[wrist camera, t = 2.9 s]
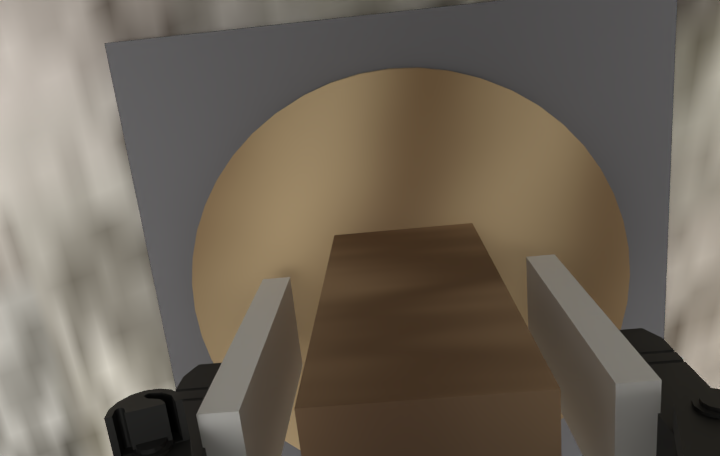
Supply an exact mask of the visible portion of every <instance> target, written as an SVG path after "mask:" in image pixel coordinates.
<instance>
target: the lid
mask: <svg viewBox="0 0 720 456" xmlns="http://www.w3.org/2000/svg"><path fill="white" fill-rule="evenodd" d="M552 254H555V255H556V257H557V258H558V259H559V260H560V261H561V262H562V264H563V265H564V266H565V267H566V268H567V270H568V271H569V272H570V273H571V274H572V275H573V277H574V278H575V279H576V280H577V281H578V282H579V284H580V285H581V286H582V287H583V288H584V289H585V291H586V292H587V293H588V294H589V295H590V297H591V298H592V299H593V300H594V301H595V302H596V304H597V305H598V306H599V307H600V308H601V309H602V311H603V312H604V313H605V314H606V315H607V317H608V318H609V319H610V320H611V321H612V322H613V324H614V325H615V326H616V327H617V328H618V329H619V330H621V327H622V322H623V318H624V314H625V310H626V306H627V301H628V290H629V280H630V265H629V247H628V242H627V237H626V232H625V226H624V221H623V218H622V215H621V212H620V210H619V207H618V204H617V201H616V198H615V195H614V193H613V191H612V189H611V187H610V185H609V183H608V182H607V180H606V178H605V176H604V174H603V172H602V170H601V168H600V167H599V166H598V164H597V163H596V162H595V160H594V159H593V157H592V156H591V155H590V153H589V152H588V151H587V149H586V148H585V146H584V145H583V144H582V143H581V142H580V141H579V140H578V139H577V138H576V137H575V136H574V135H573V134H572V133H571V132H570V131H569V130H568V129H567V128H566V127H565V126H564V125H563V124H562V123H561V122H560V121H558V120H557V119H556V118H554V117H553V116H552V115H551V114H549V113H548V112H547V111H545V110H544V109H543V108H541V107H540V106H539V105H537V104H535V103H533V102H532V101H530V100H528V99H526V98H525V97H523V96H521V95H519V94H517V93H516V92H514V91H512V90H510V89H507V88H505V87H502V86H499V85H497V84H494V83H492V82H489V81H487V80H484V79H481V78H478V77H474V76H470V75H466V74H462V73H457V72H453V71H449V70H440V69H430V68H420V67H415V68H388V69H382V70H377V71H371V72H365V73H359V74H356V75H353V76H350V77H346V78H343V79H340V80H337V81H334V82H331V83H329V84H326V85H324V86H322V87H320V88H318V89H316V90H314V91H312V92H309V93H307V94H305V95H303V96H302V97H300V98H299V99H297V100H296V101H294V102H293V103H291V104H290V105H288V106H286V107H285V108H283V109H282V110H280V111H279V112H277V113H276V114H274V115H273V116H272V117H271V118H270V119H269V120H267V121H266V122H265V123H264V124H263V125H262V126H260V127H259V128H258V129H257V130H256V131H255V132H254V133H252V134H251V136H250V137H249V138H248V139H247V140H246V141H245V142H244V144H243V145H242V146H241V147H240V148H239V149H238V150H237V151H236V153H235V154H234V155H233V156H232V158H231V159H230V161H229V162H228V164H227V165H226V167H225V168H224V170H223V171H222V173H221V174H220V176H219V177H218V179H217V181H216V183H215V185H214V187H213V189H212V191H211V193H210V196H209V198H208V200H207V202H206V204H205V207H204V210H203V213H202V216H201V220H200V223H199V226H198V229H197V234H196V240H195V246H194V252H193V262H192V288H193V297H194V305H195V312H196V316H197V320H198V323H199V327H200V331H201V335H202V338H203V340H204V343H205V345H206V347H207V350H208V352H209V355H210V357H211V360H212V361H213V363H222V361H223V359H224V357H225V355H226V353H227V351H228V349H229V347H230V345H231V343H232V341H233V339H234V337H235V335H236V333H237V331H238V329H239V327H240V325H241V323H242V321H243V319H244V317H245V315H246V313H247V311H248V309H249V307H250V305H251V303H252V301H253V299H254V297H255V294H256V292H257V290H258V288H259V286H260V284H261V282H262V280H263V279H272V278H283V277H290V280H291V287H292V294H293V301H294V308H295V315H296V322H297V329H298V336H299V344H300V351H301V358H302V365H303V366H302V370H301V374H300V378H299V382H298V387H297V391H296V395H295V399H294V404H293V408H292V412H291V416H290V420H289V425H288V429H287V433H286V437H285V441H286V442H288V443H289V444H291V445H292V446H294V447H296V448H297V449H299V450H300V451H301V456H562V455H561V419H562V418H564V417H563V415H562V413H561V389H560V387H559V385H558V383H557V381H556V379H555V377H554V376H553V374H552V372H551V370H550V368H549V366H548V364H547V362H546V361H545V359H544V357H543V355H542V353H541V351H540V349H539V347H538V346H537V344H536V342H535V340H534V338H533V336H532V334H531V332H530V331H529V329H528V304H527V268H526V257H529V256H540V255H552Z"/></svg>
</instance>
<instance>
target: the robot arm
mask: <svg viewBox="0 0 720 456" xmlns="http://www.w3.org/2000/svg"><path fill="white" fill-rule="evenodd" d="M526 268H527V304H528V329H529V331H530V332H531V334H532V336H533V338H534V340H535V342H536V344H537V346H538V347H539V349H540V351H541V353H542V355H543V357H544V359H545V361H546V362H547V364H548V366H549V368H550V370H551V372H552V374H553V376H554V377H555V379H556V381H557V383H558V385H559V387H560V389H561V413H562V415H563V417H564V419H565V421H566V423H567V425H568V427H569V429H570V431H571V433H572V435H573V437H574V439H575V441H576V443H577V445H578V447H579V449H580V451H581V453H582V455H583V456H720V389H714V388H710V386H709V385H708V384H707V383H706V382H705V381H704V380H703V379H702V378H701V377H700V376H699V375H698V374H697V373H696V372H695V371H694V370H693V369H692V368H691V367H690V366H689V365H688V364H687V363H686V362H683V359H682V358H681V357H680V356H679V355H678V354H677V353H676V352H674V350H673V349H672V348H671V347H670V346H669V344H668V343H667V342H666V341H665V340H664V339H663V338H661V337H659V336H657V335H655V334H653V333H651V332H649V331H647V330H645V329H643V328H636V329H624V330H619V329H618V328H617V327H616V326H615V325H614V324H613V322H612V321H611V320H610V319H609V318H608V317H607V315H606V314H605V313H604V312H603V311H602V309H601V308H600V307H599V306H598V305H597V304H596V302H595V301H594V300H593V299H592V298H591V297H590V295H589V294H588V293H587V292H586V291H585V289H584V288H583V287H582V286H581V285H580V284H579V282H578V281H577V280H576V279H575V278H574V277H573V275H572V274H571V273H570V272H569V271H568V270H567V268H566V267H565V266H564V265H563V264H562V262H561V261H560V260H559V259H558V258H557V257H556V255H555V254H552V255H540V256H529V257H526ZM302 366H303V365H302V358H301V351H300V344H299V336H298V329H297V322H296V315H295V308H294V301H293V294H292V287H291V280H290V277H283V278H272V279H263V280H262V282H261V284H260V286H259V288H258V290H257V292H256V294H255V297H254V299H253V301H252V303H251V305H250V307H249V309H248V311H247V313H246V315H245V317H244V319H243V321H242V323H241V325H240V327H239V329H238V331H237V333H236V335H235V337H234V339H233V341H232V343H231V345H230V347H229V349H228V351H227V353H226V355H225V357H224V359H223V361H222V363H211V364H199V365H198V366H196V367H195V368H194V369H192V370H191V371H190V372H189V373H187V374H186V375H185V376H183V378H182V380H181V382H180V383H179V385H178V387H177V388H176V392H175V391H173V390H169V389H154V390H147V391H143V392H139V393H136V394H133V395H130V396H128V397H127V398H125V399H123V400H121V401H119V402H117V403H116V404H115V405H114V406H113V407H112V408H110V409H109V410H108V412H107V414H106V416H105V418H104V419H105V423H106V427H107V431H108V435H109V439H110V443H111V447H112V451H113V455H114V456H281V454H282V450H283V446H284V442H285V437H286V433H287V429H288V425H289V420H290V416H291V412H292V408H293V404H294V399H295V395H296V391H297V387H298V382H299V378H300V374H301V370H302Z"/></svg>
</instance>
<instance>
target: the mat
mask: <svg viewBox="0 0 720 456" xmlns="http://www.w3.org/2000/svg"><path fill="white" fill-rule="evenodd" d="M676 17H677V0H500V1H491V2H481V3H472V4H463V5H454V6H445V7H435V8H426V9H417V10H408V11H398V12H389V13H380V14H371V15H361V16H352V17H343V18H334V19H325V20H315V21H306V22H297V23H288V24H278V25H269V26H260V27H251V28H242V29H232V30H223V31H214V32H205V33H195V34H186V35H177V36H168V37H159V38H149V39H140V40H131V41H122V42H112V43H105V48H106V53H107V58H108V62H109V67H110V72H111V77H112V82H113V87H114V91H115V96H116V101H117V106H118V111H119V115H120V120H121V125H122V130H123V135H124V140H125V144H126V149H127V154H128V159H129V164H130V169H131V173H132V178H133V183H134V188H135V193H136V197H137V202H138V207H139V212H140V217H141V222H142V226H143V231H144V236H145V241H146V246H147V251H148V255H149V260H150V265H151V270H152V275H153V279H154V284H155V289H156V294H157V299H158V304H159V308H160V313H161V318H162V323H163V328H164V333H165V337H166V342H167V347H168V352H169V357H170V361H171V366H172V371H173V376H174V381H175V386H176V388H177V387H178V385H179V383H180V382H181V380H182V378H183V376H185V375H186V374H187V373H189V372H190V371H191V370H192V369H194V368H195V367H196V366H198V365H199V364H211V363H213V361H212V360H211V357H210V355H209V352H208V350H207V347H206V345H205V343H204V340H203V338H202V335H201V331H200V327H199V323H198V320H197V316H196V312H195V305H194V297H193V288H192V262H193V252H194V246H195V240H196V234H197V229H198V226H199V223H200V220H201V216H202V213H203V210H204V207H205V204H206V202H207V200H208V198H209V196H210V193H211V191H212V189H213V187H214V185H215V183H216V181H217V179H218V177H219V176H220V174H221V173H222V171H223V170H224V168H225V167H226V165H227V164H228V162H229V161H230V159H231V158H232V156H233V155H234V154H235V153H236V151H237V150H238V149H239V148H240V147H241V146H242V145H243V144H244V142H245V141H246V140H247V139H248V138H249V137H250V136H251V134H252V133H254V132H255V131H256V130H257V129H258V128H259V127H260V126H262V125H263V124H264V123H265V122H266V121H267V120H269V119H270V118H271V117H272V116H273V115H274V114H276V113H277V112H279V111H280V110H282V109H283V108H285V107H286V106H288V105H290V104H291V103H293V102H294V101H296V100H297V99H299V98H300V97H302V96H303V95H305V94H307V93H309V92H312V91H314V90H316V89H318V88H320V87H322V86H324V85H326V84H329V83H331V82H334V81H337V80H340V79H343V78H346V77H350V76H353V75H356V74H359V73H365V72H371V71H377V70H382V69H388V68H415V67H420V68H430V69H440V70H449V71H453V72H457V73H462V74H466V75H470V76H474V77H478V78H481V79H484V80H487V81H489V82H492V83H494V84H497V85H499V86H502V87H505V88H507V89H510V90H512V91H514V92H516V93H517V94H519V95H521V96H523V97H525V98H526V99H528V100H530V101H532V102H533V103H535V104H537V105H539V106H540V107H541V108H543V109H544V110H545V111H547V112H548V113H549V114H551V115H552V116H553V117H554V118H556V119H557V120H558V121H560V122H561V123H562V124H563V125H564V126H565V127H566V128H567V129H568V130H569V131H570V132H571V133H572V134H573V135H574V136H575V137H576V138H577V139H578V140H579V141H580V142H581V143H582V144H583V145H584V146H585V148H586V149H587V151H588V152H589V153H590V155H591V156H592V157H593V159H594V160H595V162H596V163H597V164H598V166H599V167H600V168H601V170H602V172H603V174H604V176H605V178H606V180H607V182H608V183H609V185H610V187H611V189H612V191H613V193H614V195H615V198H616V201H617V204H618V207H619V210H620V212H621V215H622V218H623V221H624V226H625V232H626V237H627V242H628V247H629V265H630V280H629V290H628V301H627V306H626V310H625V314H624V318H623V322H622V327H621V330H624V329H636V328H643V329H645V330H647V331H649V332H651V333H653V334H655V335H657V336H659V337H661V338H663V339H664V324H665V299H666V273H667V248H668V222H669V196H670V171H671V145H672V120H673V94H674V68H675V43H676ZM561 455H562V456H583V455H582V453H581V451H580V449H579V447H578V445H577V443H576V441H575V439H574V437H573V435H572V433H571V431H570V429H569V427H568V425H567V423H566V421H565V419H564V418H562V419H561ZM281 456H301V451H300V450H299V449H297V448H296V447H294V446H292V445H291V444H289V443H288V442H286V441H285V442H284V446H283V450H282V454H281Z"/></svg>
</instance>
